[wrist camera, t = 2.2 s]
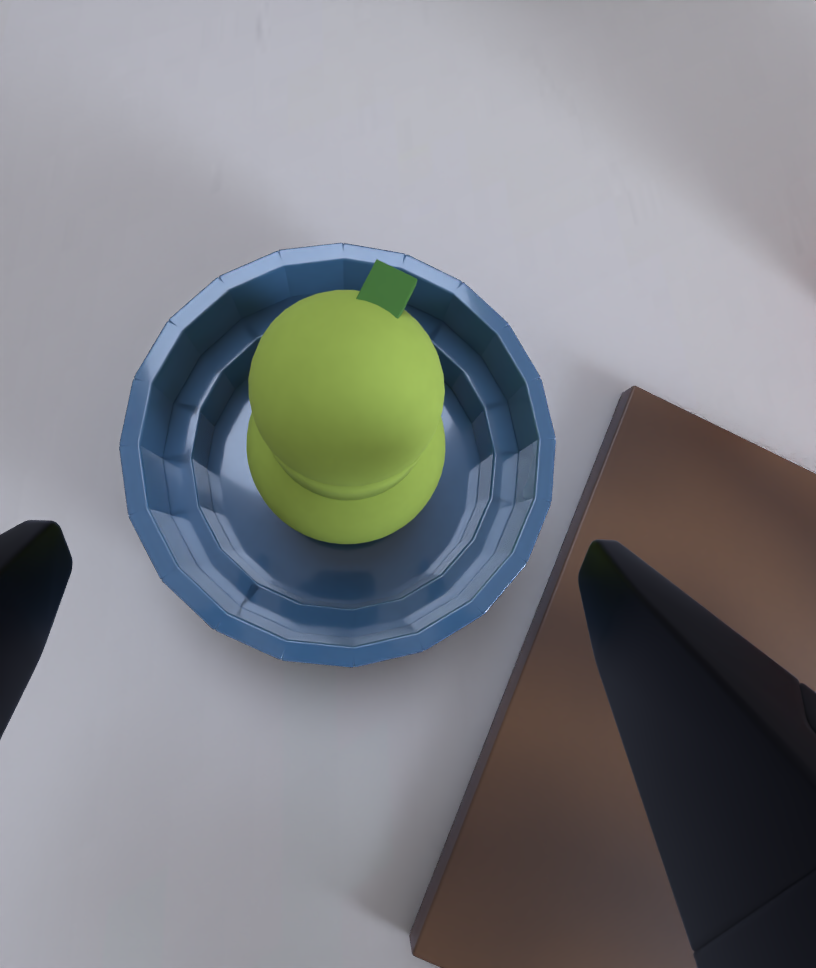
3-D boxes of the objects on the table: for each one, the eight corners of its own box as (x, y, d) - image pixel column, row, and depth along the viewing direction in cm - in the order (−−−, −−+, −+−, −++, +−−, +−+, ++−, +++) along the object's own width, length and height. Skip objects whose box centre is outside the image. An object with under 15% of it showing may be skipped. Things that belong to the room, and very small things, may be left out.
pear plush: (387, 575, 20) (434, 586, 9) (234, 504, 20) (98, 430, 9) (453, 430, 21) (564, 287, 10) (310, 361, 21) (270, 142, 10)
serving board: (810, 1110, 19) (835, 1140, 18) (408, 935, 18) (411, 956, 17) (947, 550, 23) (974, 550, 22) (621, 392, 23) (634, 384, 22)
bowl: (431, 701, 20) (456, 740, 15) (103, 552, 19) (31, 547, 15) (559, 396, 22) (612, 353, 18) (271, 256, 22) (251, 177, 17)
